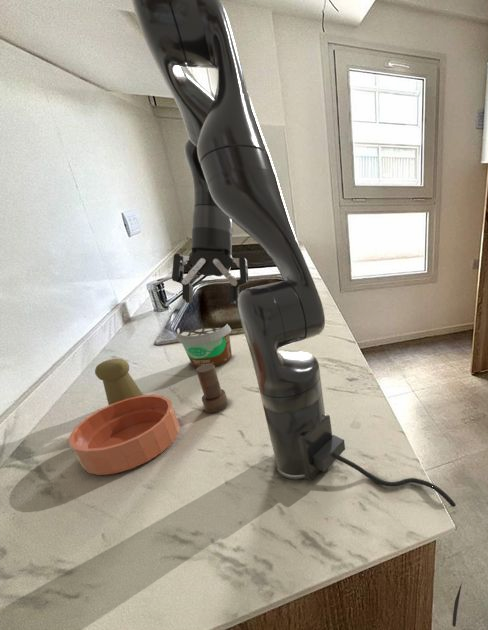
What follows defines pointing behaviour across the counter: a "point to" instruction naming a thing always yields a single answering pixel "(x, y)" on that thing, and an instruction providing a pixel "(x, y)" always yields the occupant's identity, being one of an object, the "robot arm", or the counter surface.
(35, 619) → the counter surface
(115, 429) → the bowl
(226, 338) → the food container
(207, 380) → the pestle
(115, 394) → the olive knobbed tapered cylinder
